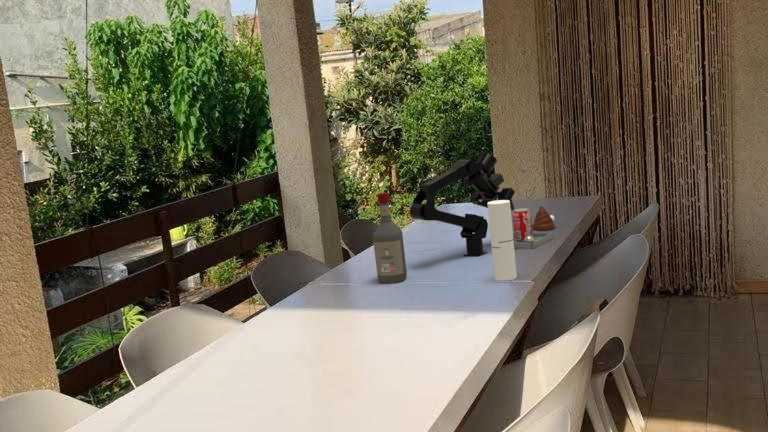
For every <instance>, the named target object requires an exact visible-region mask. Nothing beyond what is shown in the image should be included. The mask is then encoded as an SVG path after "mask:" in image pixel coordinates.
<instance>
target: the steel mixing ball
mask: <svg viewBox="0 0 768 432" xmlns="http://www.w3.org/2000/svg"><path fill="white" fill-rule="evenodd" d="M524 241H525V243H533V242H534V238H533V237H532V236H530V235H528V236H526V237H525V239H524Z"/></svg>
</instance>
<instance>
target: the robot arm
mask: <svg viewBox="0 0 768 432" xmlns="http://www.w3.org/2000/svg"><path fill="white" fill-rule="evenodd" d="M497 162H498V159H497V158H496V157H495V156H493V155H492V154H490V153H488V152H486V151H482V152H481V153H480V154H479V156H478V159H477V160H476V161H474V160H473V159H459V160H457V161H456V162H455V163H453V164H452V165H451V167H450V169H448V170H447V171H444V172H443V173H442V174H440V175H438V176H436V177H434V178H433V179H430V180H429V181H427V182H425V183H422V184H421V185H420V188H419V190H418V193H417V194H416V195H415V197H414V198H413V199H412V203H411V206H410V207H409V216H410V218H411V219H413V220H418V221H419V220H420V221H429V222H430V221H432V222H433V221H435V222H439V223H440V222H441V223H444V224H447V225H453V226H456V227H460V228H462V229H461V231H460V232H459V233H460V234H459V235H460V237H461V238H462V239H465V242H466V243H465V245H466V253H463V256H464V257H466V256H467V257H470V256H471V257H480V256H483V255H484V254H486V253H488V251H487V250H484V244H483V239H486V238H487V234H488V227H489V224H488V220H487V219H486V218H485V217H484V216H482V215H477V214H476V213H475V214H474V213H473V214H472V213H465V214H464V216H462V215H458V214H455V213H449V212H446V211H442V210H439V209H438V208H436V207H435V206H436V197H435V196H436V193H437V192H439V191H440V190H442V189H444V188H446V187H447V186H449V185H450V184H452V183H455V182H456V181H457V180H460V179H464V182H463V186H466V187H471V186H472V187H473V188H474V191H473V193H472V195H471V197H470V202H471V203H472V205H476V206H479V207H483V208H487V209H488V204H487V203H488V202H491V201H493V199H497V200H509V201H510V208H511V212H512V211H513V212H514V210H515V205H514V203H513V200H512V199H513V196H514V194H515V191H516V190H514V189H513V188H512V187H504V188H502V189H501V190H500V191H498V190H499V189H500V188H501V187H500V185H501V184H502V183H504V182H505V178H504V176H503V174H502V173H491V172H492V171H493V169H494V167H495V165H496V164H497ZM490 173H491V174H490ZM425 200H426V202H425V203H423V202H424V201H425Z"/></svg>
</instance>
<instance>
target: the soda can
mask: <svg viewBox="0 0 768 432" xmlns="http://www.w3.org/2000/svg"><path fill="white" fill-rule="evenodd" d="M532 225H533V221H532V213H531V211H530V209H529V208H527V207H521V208H514V210H513V213H512V228H513V234H514V236H515V239H516V240H517V241H519V242H525V241H524V239H525V237H526V236H528V235H530V236H532V237H533V233H534V231H533V230H534V229H533V228H532Z"/></svg>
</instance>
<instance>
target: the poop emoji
mask: <svg viewBox="0 0 768 432" xmlns="http://www.w3.org/2000/svg"><path fill="white" fill-rule="evenodd" d="M554 222H555V215H553V214H551V215H550V214H549V212H547V210H546V208H545V207H543V206H542V205H541V206H539V208H538V211H537V213H536V214H535V217H534V219H533V222H532V230H535V231H536V230H538V231H540V232H548V231H552V230H554V229H555V228H556V227H555V225H556V224H555V223H554Z"/></svg>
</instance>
